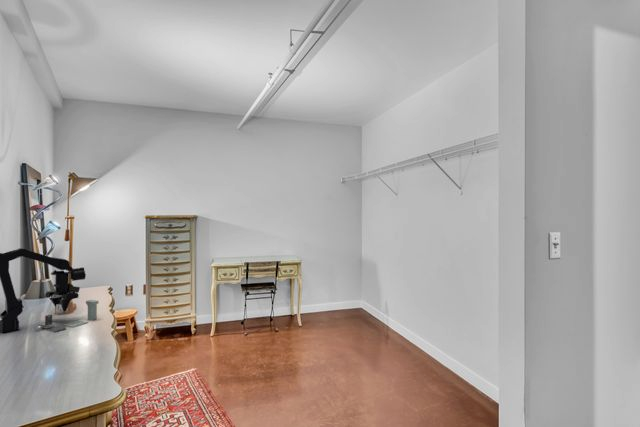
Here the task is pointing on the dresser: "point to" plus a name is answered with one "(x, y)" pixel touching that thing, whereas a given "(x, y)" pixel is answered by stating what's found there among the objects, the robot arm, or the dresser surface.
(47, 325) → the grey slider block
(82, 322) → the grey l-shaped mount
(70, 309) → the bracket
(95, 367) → the dresser surface
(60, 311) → the silver bell
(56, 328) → the rail
